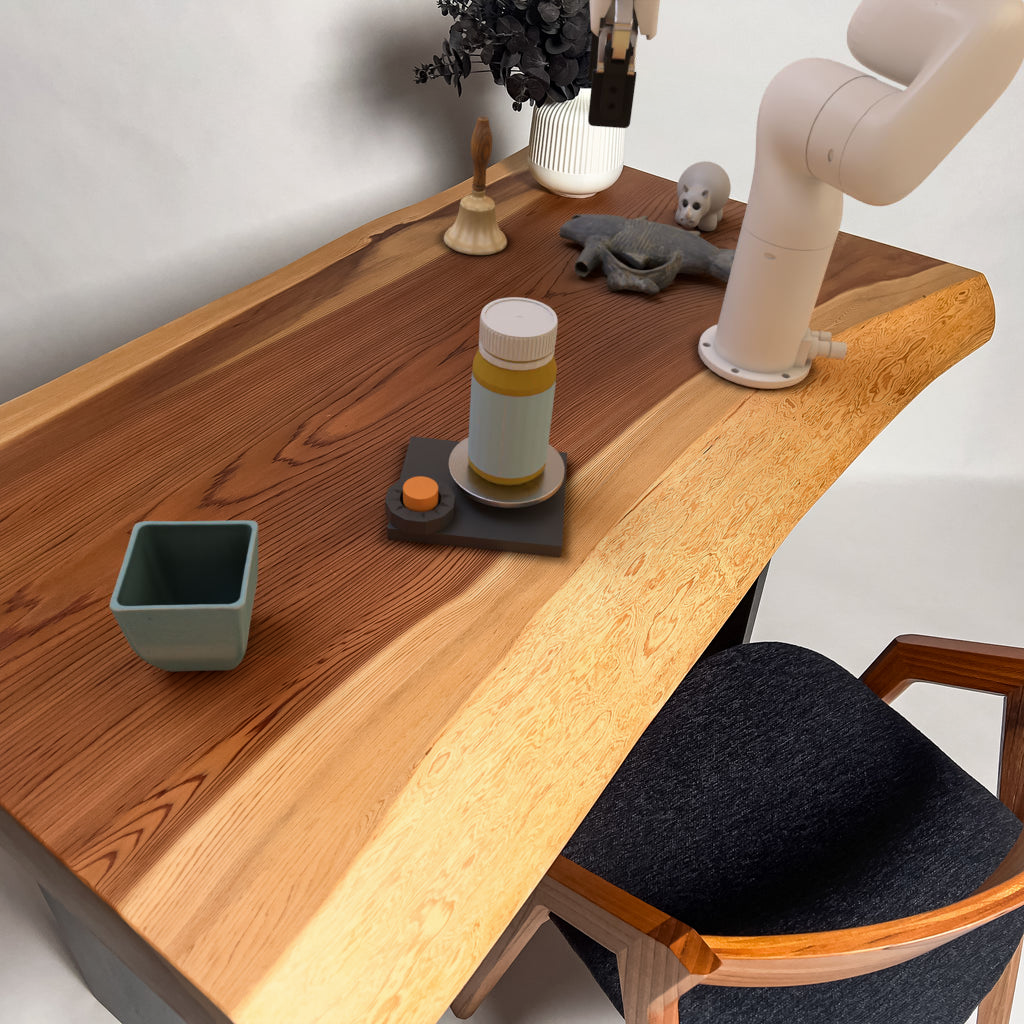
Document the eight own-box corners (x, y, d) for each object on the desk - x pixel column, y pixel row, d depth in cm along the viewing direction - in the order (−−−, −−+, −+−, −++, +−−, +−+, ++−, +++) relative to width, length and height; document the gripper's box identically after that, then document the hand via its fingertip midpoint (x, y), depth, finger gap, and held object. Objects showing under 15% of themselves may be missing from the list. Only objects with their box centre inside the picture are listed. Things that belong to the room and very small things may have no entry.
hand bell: (515, 234, 128) (525, 112, 117) (494, 261, 122) (502, 135, 111) (457, 221, 129) (461, 100, 119) (433, 247, 123) (436, 121, 113)
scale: (565, 463, 92) (569, 439, 90) (560, 561, 82) (563, 536, 80) (406, 447, 92) (406, 422, 90) (381, 542, 82) (380, 517, 80)
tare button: (440, 491, 84) (440, 478, 83) (435, 514, 82) (435, 500, 81) (406, 488, 84) (406, 474, 83) (400, 510, 82) (400, 497, 81)
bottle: (548, 444, 88) (565, 299, 78) (542, 493, 83) (560, 345, 73) (472, 435, 89) (480, 290, 79) (462, 484, 83) (469, 334, 73)
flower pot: (156, 603, 76) (134, 519, 70) (270, 602, 77) (259, 518, 71) (132, 693, 69) (106, 609, 63) (258, 691, 70) (244, 607, 64)
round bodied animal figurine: (653, 240, 130) (664, 178, 124) (679, 207, 138) (691, 148, 132) (704, 253, 128) (717, 191, 122) (728, 220, 136) (742, 160, 130)
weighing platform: (566, 440, 90) (566, 435, 90) (561, 514, 82) (562, 508, 82) (455, 429, 90) (456, 424, 90) (441, 501, 82) (441, 496, 82)
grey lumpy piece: (580, 189, 127) (531, 244, 118) (763, 234, 120) (726, 297, 111) (579, 223, 131) (531, 279, 122) (756, 269, 124) (719, 332, 114)
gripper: (702, -126, 59) (660, 148, 71) (681, -169, 72) (649, 70, 84) (580, -135, 59) (558, 141, 71) (582, -176, 72) (563, 64, 84)
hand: (607, 102), depth 77 cm, fingers open, 9 cm apart
